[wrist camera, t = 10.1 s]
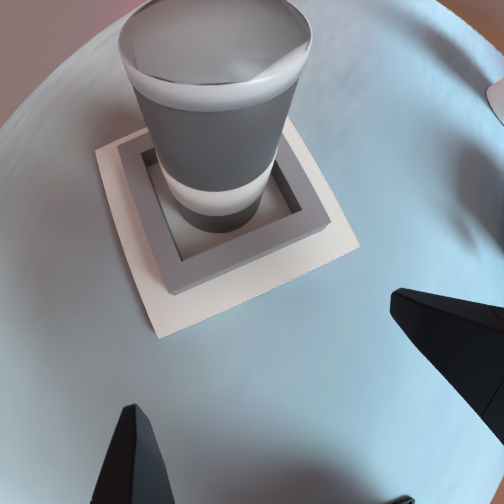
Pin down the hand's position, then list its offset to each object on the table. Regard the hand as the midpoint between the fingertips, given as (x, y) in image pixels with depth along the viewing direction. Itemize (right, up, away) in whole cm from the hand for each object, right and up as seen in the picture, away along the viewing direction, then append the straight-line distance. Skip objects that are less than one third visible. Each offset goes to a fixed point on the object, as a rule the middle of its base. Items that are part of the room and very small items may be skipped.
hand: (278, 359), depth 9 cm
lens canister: (-3, +7, +11) cm, 13 cm away
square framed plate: (-3, +7, +12) cm, 14 cm away
